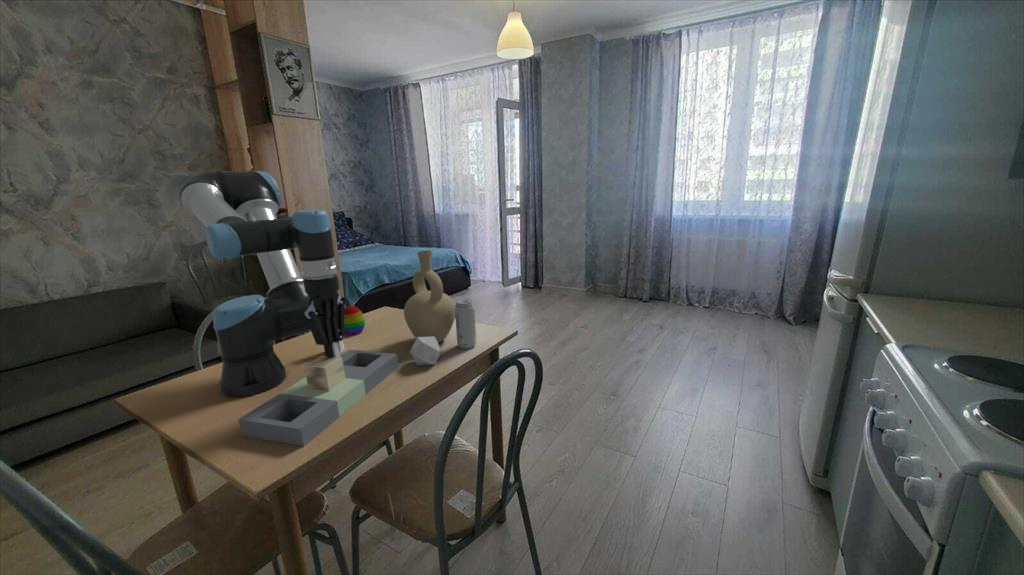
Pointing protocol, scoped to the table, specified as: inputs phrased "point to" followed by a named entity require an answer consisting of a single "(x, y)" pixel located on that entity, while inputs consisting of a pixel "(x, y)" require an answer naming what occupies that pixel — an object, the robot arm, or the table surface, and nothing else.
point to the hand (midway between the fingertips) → (335, 366)
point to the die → (425, 350)
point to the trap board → (317, 401)
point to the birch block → (325, 373)
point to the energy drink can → (465, 323)
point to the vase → (429, 303)
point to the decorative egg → (353, 320)
